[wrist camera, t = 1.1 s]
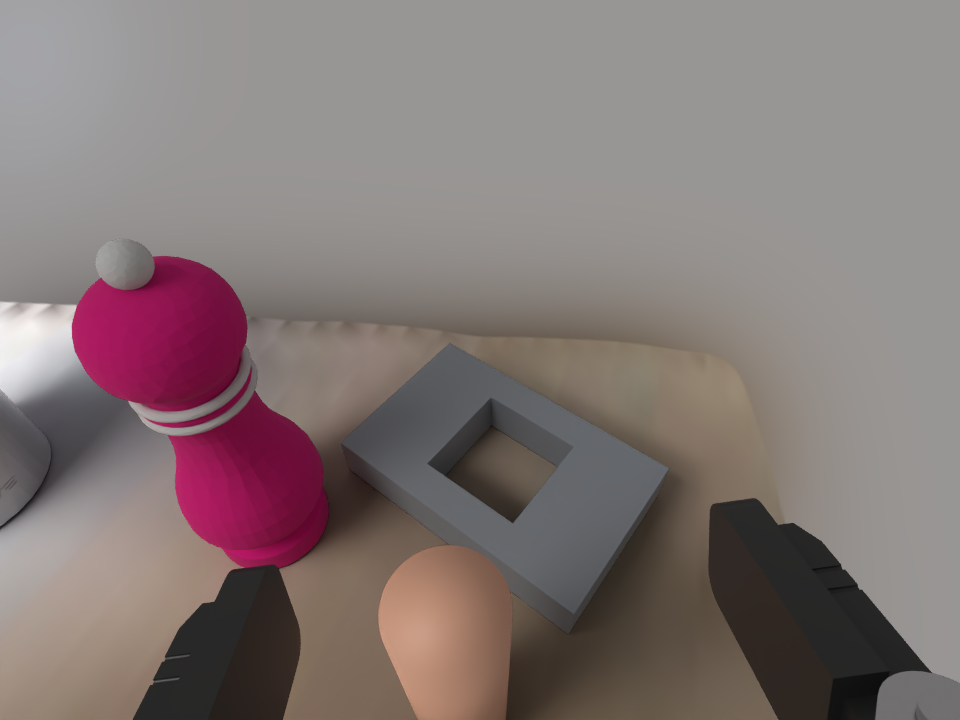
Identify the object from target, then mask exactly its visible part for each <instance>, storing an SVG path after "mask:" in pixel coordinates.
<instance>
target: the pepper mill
mask: <svg viewBox="0 0 960 720" xmlns="http://www.w3.org/2000/svg"><path fill="white" fill-rule="evenodd" d="M96 269H97V271H98V274H99V276H100V277H101V278H100V279H99V280H98V281H96V282H95V283H94V284H93V285H92V286H91V287H90V288H89V289H88V290H87V291H86V293H85V294H84V296H83V297H82V299H81V300H80V302H79V304H78V305H77V307H76V311H75V315H74V319H73V322H72V339H73V344H74V349H75V352H76V354H77V356H78V358H79V360H80V362H81V363H82V365H83V367H84V369H85V371H86V372H87V374H88V375H89V376H90V377H91V378H92V379H93V380H94V381H95V383H96V384H97V385H99V386H100V387H101V388H103V389H104V390H105V391H106V392H108V393H109V394H111V395H113V396H115V397H118V398H121V399H124V400H128V402H129V404H130V406H131V407H132V408H133V409H134V411H135V412H136V413H138V416H139V417H140V419H141V420H142V422H143V423H144V424H145V425H146V426H148V427H149V428H150V429H152V430H154V431H156V432H159V433H161V434H165V435H168V437H169V439H170V441H171V443H172V445H173V446H174V450H175V454H176V476H175V489H176V494H177V498H178V503H179V506H180V508H181V511H182V513H183V515H184V517H185V518H186V520H187V521H188V523H189V525H190V526H191V528H192V529H193V531H195V532H196V533H197V534H198V535H199V536H200V537H201V538H202V539H204V540H205V541H207V542H208V543H210V544H213V545H215V546H217V547H221V548H222V549H223V551H224V552H225V553H226V554H227V556H228V557H229V558H230V559H231V560H232V561H234V562H235V563H237V564H238V565H240V566H242V567H245V568H248V567H255V566H262V565H269V564H274V565H276V566H277V567H278V568H280V567H283V566H286V565H289V564H291V563H293V562H295V561H296V560H298V559H299V558H301V557H302V556H303V555H305V554H306V553H307V552H308V551H309V550H310V549H311V548H312V547H313V546H314V545H315V544H316V543H317V542H318V540H319V539H320V537H321V535H322V534H323V532H324V529H325V527H326V524H327V521H328V515H329V505H328V499H327V496H326V493H325V491H324V489H323V486H322V484H323V466H322V461H321V458H320V456H319V453H318V451H317V450H316V448H315V446H314V445H313V443H312V441H311V440H310V438H309V437H308V435H307V434H306V433H305V432H304V431H303V430H302V429H301V428H299V427H298V426H297V425H296V424H295V423H294V422H292V421H291V420H289V419H288V418H286V417H284V416H282V415H280V414H278V413H276V412H274V411H272V410H270V409H269V408H268V407H267V406H266V405H265V404H264V403H263V402H262V400H261V399H260V397H259V396H258V394H257V393H256V391H255V388H256V383H257V369H256V366H255V364H254V361H253V360H252V359H251V357H250V353H249V350H248V348H247V347H246V345H245V344H246V338H247V320H246V315H245V312H244V309H243V307H242V305H241V302H240V300H239V299H238V297H237V295H236V294H235V292H234V290H233V289H232V288H231V286H230V285H229V284H228V283H227V282H226V281H225V280H224V279H223V278H222V277H221V276H220V275H218V274H217V273H216V272H215V271H213V270H212V269H210V268H208V267H206V266H204V265H202V264H200V263H198V262H194V261H191V260H187V259H183V258H179V257H170V256H157V257H152V255H151V253H150V252H149V251H148V250H147V248H146V247H145V246H143V245H142V244H140V243H138V242H135V241H133V240H130V239H116V240H112V241H110V242H108V243H106V244H105V245H104V246H103V247H102V248H101V249H100V250H99V252H98V254H97V256H96Z"/></svg>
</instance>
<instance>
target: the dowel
mask: <svg viewBox="0 0 960 720" xmlns="http://www.w3.org/2000/svg"><path fill="white" fill-rule="evenodd" d="M378 619H379V629H380V634H381V638H382V640H383V643H384V646H385V648H386V650H387V652H388V655H389V657H390V659H391V661H392V664H393V666H394V668H395V670H396V672H397V675H398V677H399V679H400V681H401V684H402V686H403V688H404V690H405V692H406V695H407V697H408V699H409V701H410V704H411V706H412V708H413V710H414V712H415V715H416V717H417V719H418V720H506V710H507V695H508V680H509V665H510V649H511V634H512V619H513V605H512V598H511V593H510V590H509V587H508V584H507V582H506V580H505V578H504V576H503V575H502V573H501V572H500V571H499V569H498V568H497V567H496V566H495V565H494V564H493V563H492V562H491V561H490V560H489V559H488V558H486V557H485V556H483V555H482V554H480V553H478V552H476V551H474V550H472V549H469V548H466V547H461V546H454V545H443V546H436V547H431V548H428V549H425V550H423V551H421V552H418V553H416V554H415V555H413V556H411V557H410V558H409V559H407V560H406V561H405V562H403V563H402V564H401V565H400V566H399V567H398V568H397V569H396V571H395V572H394V573H393V575H392V576H391V577H390V579H389V581H388V582H387V584H386V586H385V589H384V591H383V594H382V597H381V600H380V606H379V617H378Z"/></svg>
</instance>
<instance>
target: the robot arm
mask: <svg viewBox="0 0 960 720" xmlns="http://www.w3.org/2000/svg"><path fill="white" fill-rule="evenodd" d="M50 460H51V450H50V444H49V442H48V440H47V438H46V436H45V435H44V434H43V433H42V432H41V431H40V430H39V429H38V428H37V427H36V426H35V425H34V424H33V423H32V422H31V421H30V420H29V419H28V418H27V416H26V415H25V414H24V413H23V412H22V411H21V410H20V409H19V408H18V407H17V406H16V405H15V404H14V403H13V402H12V401H11V400H10V399H9V398H8V397H7V395H6V394H5V393H4V392H3V391H2V390H1V389H0V526H1V525H3V524H4V523H5V522H7V521H8V520H9V519H10V518H12V517H13V516H14V515H15V514H16V513H18V512H19V511H20V510H21V509H22V508H23V507H24V506H25V505H26V503H27V502H28V501H29V500H30V499H31V498H32V497H33V496H34V494H35V493H36V491H37V490H38V488H39V487H40V486H41V484H42V482H43V480H44V478H45V476H46V474H47V472H48V469H49V464H50ZM709 577H710V583H711V587H712V590H713V593H714V596H715V599H716V601H717V604H718V606H719V608H720V609H721V611H722V613H723V615H724V617H725V619H726V621H727V623H728V625H729V627H730V628H731V630H732V632H733V634H734V636H735V638H736V640H737V642H738V644H739V645H740V647H741V649H742V651H743V653H744V655H745V657H746V659H747V661H748V663H749V664H750V666H751V668H752V670H753V672H754V674H755V676H756V678H757V680H758V682H759V683H760V685H761V687H762V689H763V691H764V693H765V695H766V697H767V699H768V701H769V702H770V704H771V706H772V708H773V710H774V712H775V714H776V716H777V718H778V719H779V720H960V683H958V682H956V681H954V680H951V679H949V678H946V677H944V676H940V675H937V674H934V673H932V672H931V671H930V670H929V669H928V668H927V667H926V666H925V665H924V663H923V662H922V661H921V660H920V659H919V657H918V656H917V655H916V654H915V653H914V652H913V650H912V649H911V648H910V647H909V645H908V644H907V643H906V642H905V641H904V639H903V638H902V637H901V636H900V635H899V633H898V632H897V631H896V630H895V629H894V627H893V626H892V625H891V624H890V623H889V622H888V620H887V619H886V618H885V617H884V616H883V614H882V613H881V612H880V611H879V610H878V608H877V607H876V606H875V605H874V604H873V603H872V601H871V600H870V599H869V598H868V596H867V595H866V594H865V593H864V592H863V590H859V588H858V585H857V583H856V582H855V581H854V580H853V578H852V577H851V576H850V575H849V574H848V573H847V571H846V570H843V569H842V567H841V564H840V563H839V562H838V561H837V559H836V558H835V557H834V556H833V554H832V553H831V552H830V551H829V550H828V549H827V547H826V546H825V545H824V544H823V543H822V541H820V540H819V539H817V538H816V537H814V536H813V535H811V534H809V533H808V532H806V531H805V530H803V529H802V528H800V527H799V526H797V525H795V524H794V523H789V524H782V525H778V524H777V523H776V522H775V520H774V519H773V518H772V516H771V515H770V514H769V513H768V511H767V510H766V509H765V507H764V506H763V505H762V504H761V502H760V501H759V500H757V499H755V498H752V499H744V500H737V501H730V502H723V503H716V504H713V505H712V506H711V509H710V526H709ZM300 644H301V642H300V629H299V624H298V621H297V618H296V616H295V613H294V610H293V607H292V604H291V601H290V599H289V596H288V593H287V590H286V587H285V585H284V582H283V579H282V576H281V573H280V571H279V569H278V567H277V566H276V565H274V564H269V565H262V566H255V567H248V568H241V569H234V570H232V571H230V572H229V573H228V575H227V577H226V579H225V581H224V583H223V585H222V587H221V589H220V591H219V594H218V596H217V598H216V600H215V602H210V603H203V604H202V605H201V606H200V607H199V608H198V609H197V610H196V611H195V612H194V613H193V614H192V615H191V616H190V618H189V619H188V620H187V621H186V622H185V623H184V624H183V625H182V626H181V627H180V628H179V630H178V632H177V634H176V636H175V638H174V640H173V642H172V644H171V646H170V647H169V649H168V651H167V653H166V655H165V662H162V663H161V665H160V667H159V669H158V671H157V673H156V675H155V677H154V679H153V680H154V683H153V685H150V687H149V689H148V691H147V693H146V695H145V697H144V698H143V700H142V702H141V704H140V706H139V708H138V710H137V712H136V714H135V716H134V718H133V720H283V717H284V713H285V709H286V706H287V702H288V698H289V695H290V691H291V687H292V683H293V680H294V676H295V672H296V669H297V665H298V661H299V656H300Z"/></svg>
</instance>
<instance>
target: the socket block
mask: <svg viewBox="0 0 960 720" xmlns="http://www.w3.org/2000/svg"><path fill="white" fill-rule="evenodd" d="M490 426H493V427H495V428H496V429H498V430H499V431H501V432H503V433H504V434H506V435H508V436H509V437H511V438H512V439H514V440H516V441H517V442H519V443H520V444H522V445H524V446H525V447H527V448H528V449H530V450H532V451H533V452H535V453H536V454H538V455H540V456H541V457H543V458H544V459H546V460H548V461H549V462H551V463H552V464H554V465H556V466H557V469H556V470H555V471H554V472H553V474H552V475H551V476H550V477H549V479H548V480H547V481H546V482H545V484H544V485H543V486H542V488H541V489H540V490H539V491H538V493H537V494H536V495H535V496H534V498H533V499H532V500H531V501H530V503H529V504H528V505H527V506H526V508H525V509H524V510H523V511H522V513H521V514H520V515H519V516H518V518H517V519H516V520H515V522H514V523H512V522H510V521H509V520H507V519H506V518H504V517H503V516H502V515H500V514H499V513H497V512H496V511H494V510H493V509H491V508H490V507H489V506H487V505H486V504H484V503H483V502H481V501H480V500H479V499H477V498H476V497H474V496H473V495H471V494H470V493H468V492H467V491H466V490H464V489H463V488H461V487H460V486H458V485H457V484H456V483H454V482H453V481H451V480H450V479H448V478H447V477H445V475H446V474H447V473H448V472H449V471H450V470H451V468H452V467H453V466H454V465H455V464H456V463H457V462H458V461H459V460H460V459H461V458H462V457H463V456H464V454H465V453H466V452H467V451H468V450H469V449H470V448H471V447H472V446H473V445H474V444H475V443H476V441H477V440H478V439H479V438H480V437H481V436H482V435H483V434H484V433H485V432H486V431H487V430H488V429H489V427H490ZM341 446H342V449H343V451H344V454H345V457H346V460H347V463H348V466H349V469H350V470H351V471H352V472H354V473H355V474H356V475H358V476H359V477H360V478H362V479H363V480H364V481H366V482H367V483H368V484H370V485H371V486H372V487H373V488H375V489H376V490H377V491H379V492H380V493H381V494H383V495H384V496H385V497H387V498H388V499H389V500H391V501H392V502H393V503H395V504H396V505H397V506H399V507H400V508H401V509H403V510H404V511H405V512H407V513H408V514H409V515H411V516H412V517H413V518H414V519H416V520H417V521H418V522H420V523H421V524H422V525H424V526H425V527H426V528H428V529H429V530H430V531H432V532H433V533H434V534H436V535H437V536H438V537H440V538H441V539H442V540H444V541H445V542H446V543H448V544H449V545H454V546H461V547H466V548H469V549H472V550H474V551H476V552H478V553H480V554H482V555H483V556H485V557H486V558H488V559H489V560H490V561H491V562H492V563H493V564H494V565H495V566H496V567H497V568H498V569H499V571H500V572H501V573H502V575H503V576H504V578H505V580H506V582H507V584H508V587H509V590H510V591H511V592H512V593H514V594H515V595H516V596H518V597H519V598H520V599H522V600H523V601H524V602H526V603H527V604H528V605H530V606H531V607H532V608H534V609H535V610H536V611H538V612H539V613H540V614H541V615H543V616H544V617H545V618H547V619H548V620H549V621H551V622H552V623H553V624H555V625H556V626H557V627H559V628H560V629H561V630H563V631H564V632H565V633H567V634H569V632H570V631H571V629H572V628H573V626H574V625H575V623H576V622H577V620H578V619H579V617H580V615H581V614H582V612H583V611H584V609H585V608H586V606H587V605H588V603H589V602H590V600H591V598H592V597H593V595H594V594H595V592H596V591H597V589H598V588H599V586H600V584H601V583H602V581H603V580H604V578H605V577H606V575H607V574H608V572H609V571H610V569H611V567H612V566H613V564H614V563H615V561H616V560H617V558H618V557H619V555H620V554H621V552H622V550H623V549H624V547H625V546H626V544H627V543H628V541H629V540H630V538H631V537H632V535H633V533H634V532H635V530H636V529H637V527H638V526H639V524H640V523H641V521H642V519H643V518H644V516H645V515H646V513H647V512H648V510H649V509H650V507H651V506H652V504H653V502H654V501H655V499H656V498H657V496H658V495H659V492H660V490H661V487H662V485H663V483H664V480H665V478H666V475H667V473H668V470H669V468H668V467H666V466H664V465H663V464H661V463H659V462H657V461H656V460H654V459H652V458H650V457H649V456H647V455H645V454H643V453H642V452H640V451H638V450H636V449H635V448H633V447H631V446H629V445H628V444H626V443H624V442H622V441H621V440H619V439H617V438H615V437H613V436H612V435H610V434H608V433H606V432H605V431H603V430H601V429H599V428H598V427H596V426H594V425H592V424H591V423H589V422H587V421H585V420H584V419H582V418H580V417H578V416H577V415H575V414H573V413H571V412H570V411H568V410H566V409H564V408H563V407H561V406H559V405H557V404H556V403H554V402H552V401H550V400H549V399H547V398H545V397H543V396H542V395H540V394H538V393H536V392H535V391H533V390H531V389H529V388H528V387H526V386H524V385H522V384H521V383H519V382H517V381H515V380H514V379H512V378H510V377H508V376H507V375H505V374H503V373H501V372H500V371H498V370H496V369H494V368H493V367H491V366H489V365H487V364H486V363H484V362H482V361H480V360H479V359H477V358H475V357H473V356H472V355H470V354H468V353H466V352H465V351H463V350H461V349H459V348H458V347H456V346H454V345H452V344H451V343H449V344H448V345H447V346H446V347H445V348H444V349H443V350H442V351H441V352H439V353H438V354H437V355H436V356H435V357H434V358H433V359H432V360H431V361H430V362H428V363H427V364H426V365H425V366H424V367H423V368H422V369H421V370H420V371H419V372H417V373H416V374H415V375H414V376H413V377H412V378H411V379H410V380H409V381H408V382H406V383H405V384H404V385H403V386H402V387H401V388H400V389H399V390H398V391H397V392H395V393H394V394H393V395H392V396H391V397H390V398H389V399H388V400H387V401H386V402H385V403H383V404H382V405H381V406H380V407H379V408H378V409H377V410H376V411H375V412H374V413H372V414H371V415H370V416H369V417H368V418H367V419H366V420H365V421H364V422H363V423H361V424H360V425H359V426H358V427H357V428H356V429H355V430H354V431H353V432H352V433H350V434H349V435H348V436H347V437H346V438H345V439H344V440H343V441H342V442H341Z"/></svg>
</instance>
